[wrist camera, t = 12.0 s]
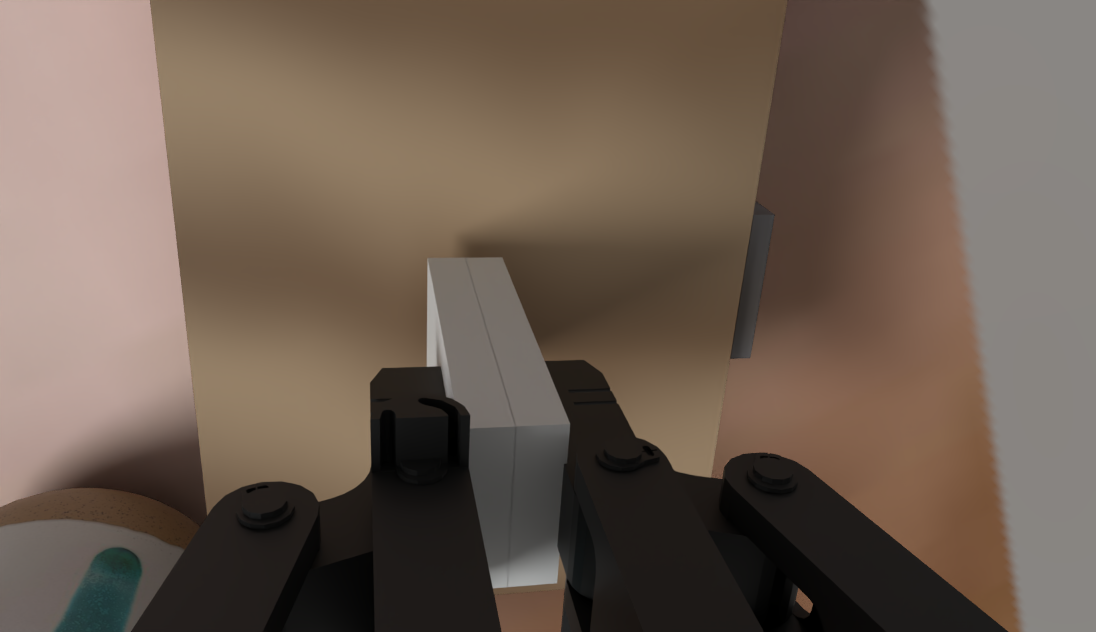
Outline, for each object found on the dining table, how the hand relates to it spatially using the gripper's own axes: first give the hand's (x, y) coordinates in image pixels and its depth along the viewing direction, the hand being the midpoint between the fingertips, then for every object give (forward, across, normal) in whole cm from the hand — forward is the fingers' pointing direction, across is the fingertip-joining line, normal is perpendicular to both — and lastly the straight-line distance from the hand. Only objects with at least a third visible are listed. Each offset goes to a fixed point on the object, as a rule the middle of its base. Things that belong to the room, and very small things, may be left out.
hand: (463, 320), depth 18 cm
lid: (+3, +1, 0) cm, 3 cm away
